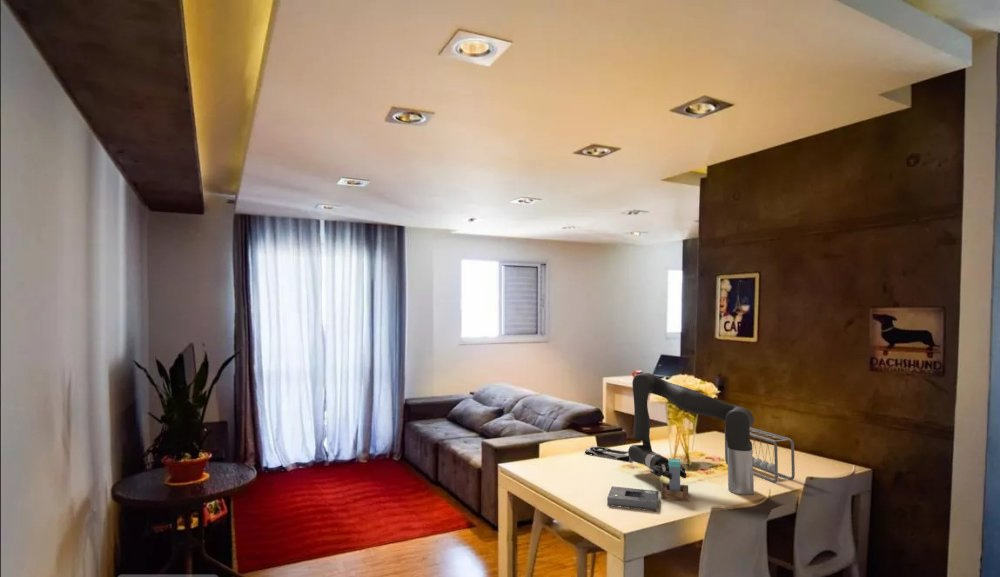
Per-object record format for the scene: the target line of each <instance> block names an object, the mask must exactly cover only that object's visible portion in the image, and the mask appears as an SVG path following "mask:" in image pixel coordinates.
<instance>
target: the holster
mask: <svg viewBox="0 0 1000 577" xmlns="http://www.w3.org/2000/svg"><path fill="white" fill-rule="evenodd" d="M660 491H661V492H660V494H661V495H660V496H661V497H660V498H661V499H662V500H668V501H679V502H687V503H688V502H689V485H688V484H687V485H686V484H680V491H673V490H670V488H669V483H668V482H662V483H661V490H660Z"/></svg>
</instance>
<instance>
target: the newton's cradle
mask: <svg viewBox="0 0 1000 577" xmlns="http://www.w3.org/2000/svg"><path fill="white" fill-rule="evenodd" d="M752 432H754V433H752ZM756 433H757V434H756ZM763 435H764V436H763ZM766 436H767V437H766ZM769 436H770V437H771V438H770V437H769ZM751 437H752V438H753V443H752V447H755V449H757V446H756V445H755V444H756V440H755V439H759V440H760V444H759V446H760V447H763V446H762V441H764V442H767V445H766V447H767V450H765V451H766V453H765V455H767V453H768V452H769V453H768V454H769V456H771V455H770V454H771V453H770V451H768V450H770V448H769V447H770V446H769V443H771V444H772V445H773V456H772V457H774V460H772V459H771V457H769V459H770V461H771V462H770V463H769V461H768V460H767V459H766V458H765V457H764V455H762V457H763V460H762V459H760V457H754V456H753V455H754V454H753V453H754V450H752V461H753V468H756V467H757V468H756V469H759V468H760V469H759V470H762V471H765V472H767V471H768V473H771V474H772V475H774V479H773V478H770V477H767V476H765V475H762V474H759V473H757V472H754V471H753V475H754V476H755V475H756V476H755V477H758V476H759V478H761V479H763V478H764V480H766V481H768V480H769V482H771V483H777V482H778V481H779V482H780V481H783V480H789V479H790V480H791V481H792V480H794V479H795V475H796V472H795V443H794V441H793V440H792V439H791V438H790V437H786V436H783V435H778V434H776V433H772V432H769V431H764V430H761V429H759V428H758V429H757V428H755V427H752V426H751V427H750V438H751ZM772 438H774V439H772ZM778 439H779V440H778ZM782 441H783V442H784V441H787V442H789V443H790V452H791V453H790V455H791V476H788V475H785V474H783V473H780V472H779V471H778V470H779V466H778V444H777V442H782ZM761 451H762V452H761ZM760 452H761V453H764V451H763V449H759V452H758V453H757V451H756V452H755V454H756V455H758V454H760ZM724 461H725V463H726V465H728V447H727V441H726V432H725V431H724ZM773 461H774V462H773ZM778 475H779V476H778ZM779 477H781V478H782V479H781V478H780V479H779Z"/></svg>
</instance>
